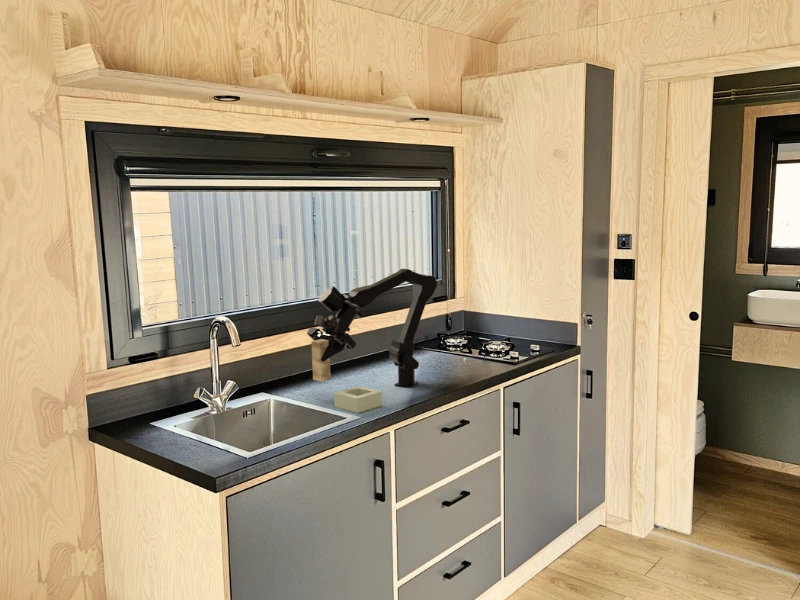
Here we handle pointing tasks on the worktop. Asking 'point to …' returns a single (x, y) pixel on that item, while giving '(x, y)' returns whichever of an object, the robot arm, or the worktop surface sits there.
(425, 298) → the robot arm
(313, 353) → the peg
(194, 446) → the worktop surface
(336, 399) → the socket block
